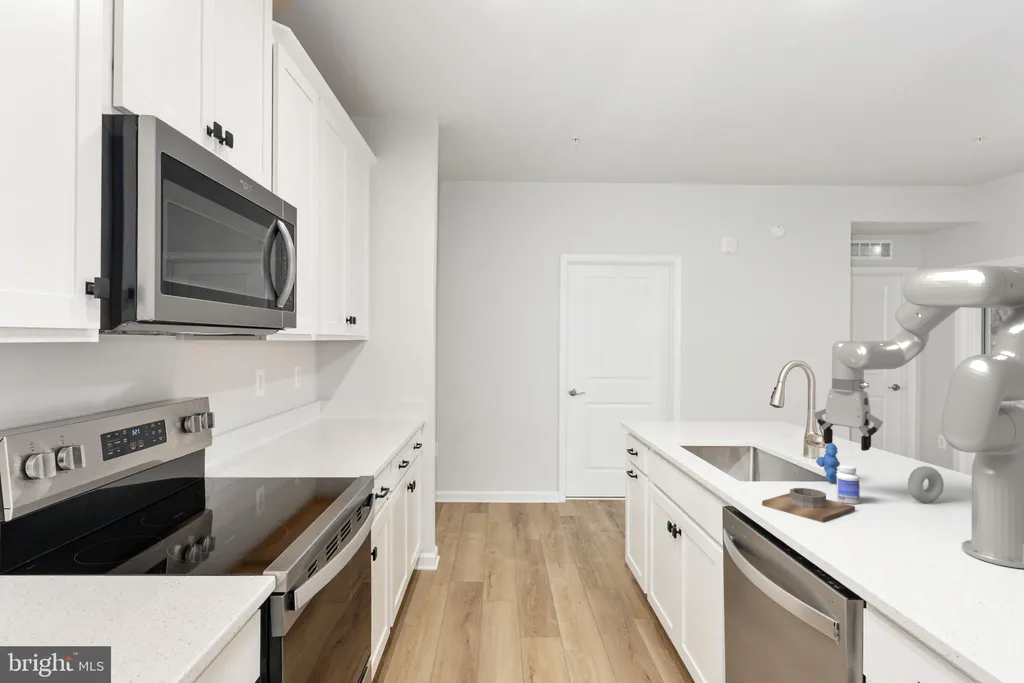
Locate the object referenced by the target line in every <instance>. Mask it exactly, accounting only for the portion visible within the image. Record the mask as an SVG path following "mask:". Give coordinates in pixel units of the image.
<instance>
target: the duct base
mask: <svg viewBox="0 0 1024 683" xmlns="http://www.w3.org/2000/svg"><path fill="white" fill-rule="evenodd" d="M761 502H762V503H761V506H763V507H767V508H771V509H775V510H778V511H780V512H786V513H789V514H792V515H796V516H800V517H803V518H805V517H806V519H810V520H812V521H817V522H819V523H820V522H821V523H824V522H828V521H830V519H831V520H833V519H836V518H839V517H842V516H844V515H843V514H845V515H847V514H850V513H853V512H855V511H856V505H853V504H847V503H842V502H840V501H835V500H831V499H827V494H826V492H825V491H824V492H823V491H822V490H819V489H815V488H807V487H806V488H805V487H793V488H790V489H789V492H788V493H785V494H782V495H778V496H774V497H771V498H768V499H764V500H761ZM854 510H855V511H854ZM852 511H853V512H852ZM849 512H850V513H849ZM846 513H847V514H846ZM841 515H842V516H841ZM838 516H839V517H838ZM835 517H836V518H835ZM827 520H828V521H827Z"/></svg>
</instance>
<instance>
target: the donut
mask: <svg viewBox="0 0 1024 683" xmlns="http://www.w3.org/2000/svg"><path fill="white" fill-rule="evenodd" d="M907 479H908V480H907V488H908V491H909V493H910V495H911V496H912V497H913V498H914V499H915V500H917V501H919V502H921V503H926V502H929V503H933V502H935V501H937V500H938V499H939V498H940V497H941V495H942V494H943V491H944V487H945V486H944V479H943V476H942V474H941V473H940V472H939V471H938V470H937V469H935V468H934V467H932V466H926V465H923V466H919V467H916V468H915V469H914V470H913V471H912V472H910V475H909V476H908V478H907ZM926 480H927V482H928V483H927V484H928V485H927V487H926V489H924V482H925V481H926Z"/></svg>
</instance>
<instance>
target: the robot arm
mask: <svg viewBox="0 0 1024 683" xmlns="http://www.w3.org/2000/svg"><path fill="white" fill-rule="evenodd" d="M902 295H903V297H904V298H905V301H904V302H903V303H902V304H901V305H900V306H899V307H897V309H895V311H894V317H895V318H894V319H895V320H896V322H897V323H898V325H899V326H900V327H901V328H903V329H902V330H901V331H900V332H899V333H898V334H897V335H896V336H894V337H893V338H892V339H890V340H878V341H877V340H873V341H872V340H870V341H868V340H866V341H865V340H863V341H849V340H846V341H843V340H839V341H835V342H834V343H833V345H832V349H831V350H832V351H831V352H832V356H831V358H832V359H831V361H832V362H831V388H830V389H829V390H828V394H827V398H826V404H825V408H824V409H821V410H818V411H816V412H814V414H813V415H814V416H815V419H816V420H817V421H816V422H817V424H819V426H820V428H821V429H822V430H823V431H822V432H823V436H822V439H823V441H824V444H825V445H828V444H829V443H833V440H834V439H833V433H834V432H833V431H834V430H833V428H832V427H833V426H838V427H839V426H841V427H847V428H853V429H859V431H860V432H861V434H862V436H861V439H860V440H861V442H860V445H861V446H860V450H861V451H863V452H866V451H869V450H870V448H871V447H872V436H873V435H875V433H877V432H878V431H879V429H880V428H881V427H882V425H883V422H884V421H882V420H881V419H879V418H877V417H876V416H874V415H872V414H871V405H870V399H869V394H868V391H865V389H869V387H870V383H868V382H865V371H868V370H869V371H870V370H873V371H875V370H896V369H899V368H901V367H903V366H905V365H907V364H908V363H910V362H911V361H912V360H913V359H914V358H916V357H917V356H918V355H919V354H921V353H922V352H923V351H924V349H925V348H926V346H927V345H928V342H929V338H930V333H931V332H932V330H934V329H935V328H936V327H938V326H939V325H940V324H941V323H943V322H944V321H946V319H948V318H949V317H950V316H951V315H953V314H954V313H955V312H956V311H958V310H959V309H960V308H972V309H983V308H984V309H1005V308H1006V309H1009V310H1010V314H1009V315H1008V316H1007V317H1006V318H1005V319H1004V321H1003V322H1002V323H1001V325H1000V327H999V329H998V331H997V334H996V339H995V342H994V345H993V349H992V351H991V353H987V354H986V353H985V354H984V353H983V354H982V353H980V354H975V355H971V356H969V357H967V358H964V359H963V360H962V361H961V362H959V363H958V365H956V367H955V369H954V370H953V372H952V375H951V378H950V380H949V385H948V389H947V393H946V398H945V402H944V406H943V411H942V414H941V421H940V423H941V424H940V426H941V428H940V429H941V434H942V436H943V438H944V440H945V442H946V443H947V444H948V445H949V446H950V447H952V448H953V449H956V450H957V451H960V452H963V453H969V454H970V453H972V454H973V453H975V455H974V458H973V461H972V466H971V539H967V540H964V541H963V542H962V543H961V549H962V551H964V552H965V553H966V554H968V555H969V556H971V557H973V558H976V559H978V560H982V561H984V562H987V563H990V564H995V565H999V566H1004V567H1009V568H1015V569H1024V407H1021V406H1018V405H1014V404H1007V403H1006V404H1005V403H1003V404H1002V402H1014V401H1016V402H1017V401H1024V266H1013V265H1011V266H1009V265H1008V266H1006V265H1004V266H1003V265H1002V266H1001V265H967V266H964V265H963V266H951V267H950V266H949V267H948V266H947V267H925V268H921V269H918V270H916V271H914V272H912V273H911V274H910V275H908V277H907V278H906V279H905V281H904V282H903V285H902ZM823 416H825V419H824V418H823ZM871 423H873V425H872V427H870V425H871Z"/></svg>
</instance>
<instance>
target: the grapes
mask: <svg viewBox="0 0 1024 683" xmlns="http://www.w3.org/2000/svg"><path fill="white" fill-rule="evenodd" d="M824 452H825V454H824V456H820V457H818V458H817V459H816V461H815V463H816V464H817V465H818V466H819V467H820V468H823V470H824V472H825V476H824V478H825V480H827V482H829V483H831V484H833V483H835V482H837V474H838V470H839V466H840V465H841V462H840V460H839V459H838V458H837V454H838V452H839V451H838V446H837V445H835V443H833V442H832V443H829V444H826V446H825V450H824Z"/></svg>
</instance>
